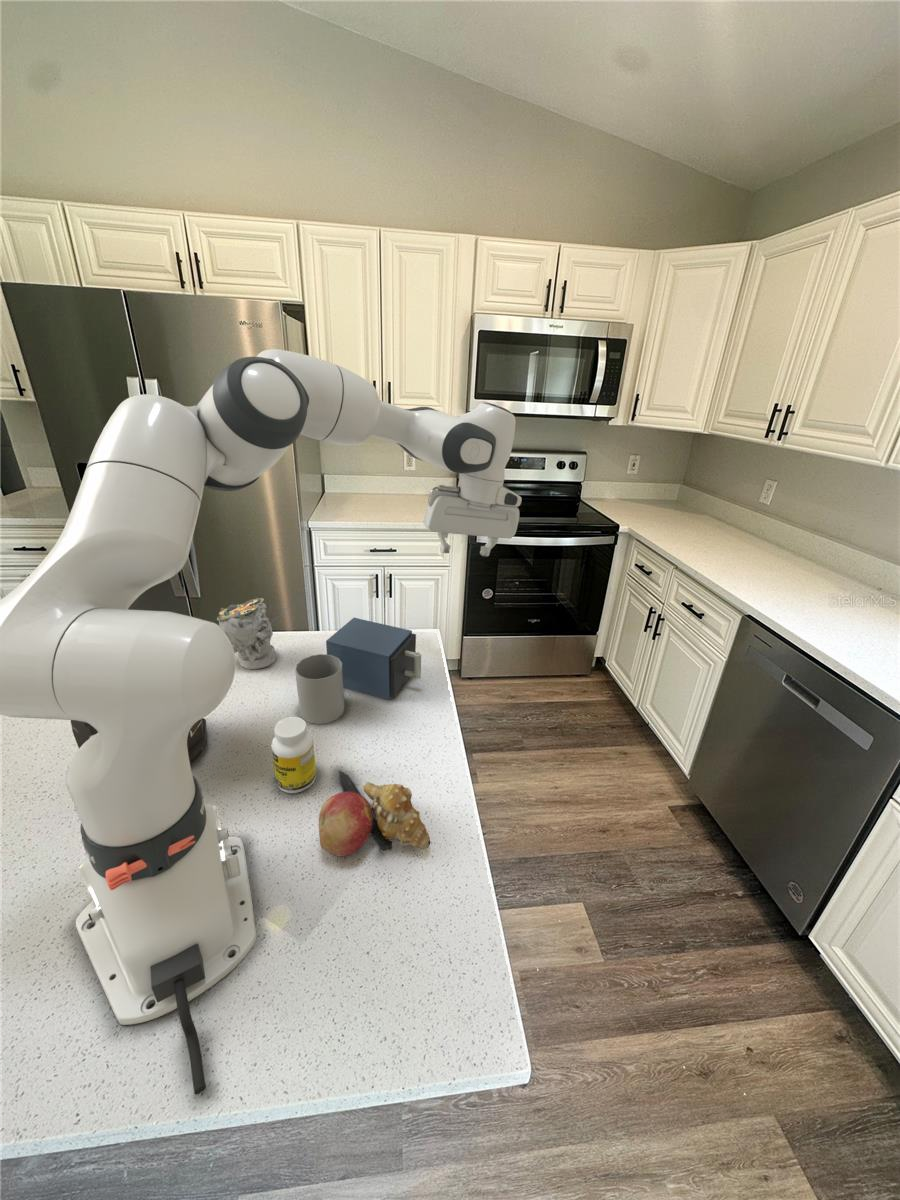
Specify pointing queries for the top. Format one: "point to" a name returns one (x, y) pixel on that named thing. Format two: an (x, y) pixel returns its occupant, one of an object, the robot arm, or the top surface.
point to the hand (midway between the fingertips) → (464, 553)
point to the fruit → (345, 823)
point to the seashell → (397, 814)
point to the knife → (375, 831)
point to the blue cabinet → (367, 655)
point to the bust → (249, 633)
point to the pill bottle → (293, 755)
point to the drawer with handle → (405, 665)
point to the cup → (320, 688)
